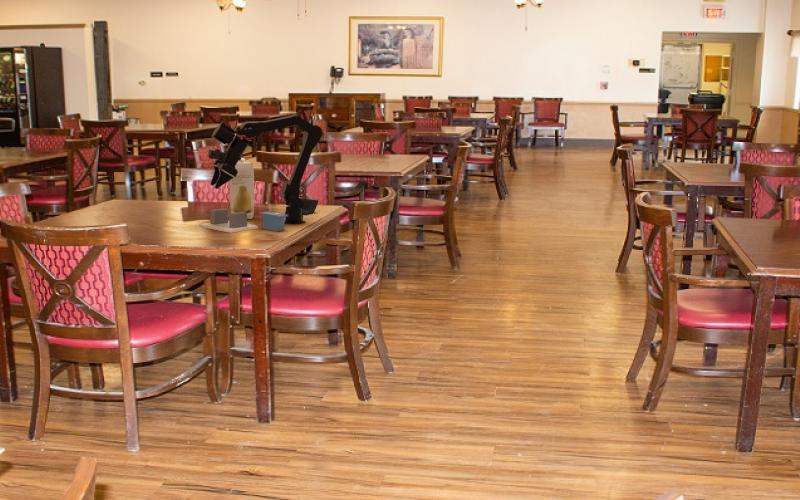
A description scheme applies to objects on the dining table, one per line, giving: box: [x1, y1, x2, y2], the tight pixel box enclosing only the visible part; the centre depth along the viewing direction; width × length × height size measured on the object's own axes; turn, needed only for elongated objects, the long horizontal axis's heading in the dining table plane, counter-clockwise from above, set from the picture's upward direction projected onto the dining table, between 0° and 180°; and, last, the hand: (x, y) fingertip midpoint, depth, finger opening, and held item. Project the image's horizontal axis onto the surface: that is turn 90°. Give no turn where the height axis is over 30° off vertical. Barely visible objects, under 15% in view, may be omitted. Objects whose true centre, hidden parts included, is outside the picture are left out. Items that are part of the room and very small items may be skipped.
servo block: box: [259, 211, 288, 232], centre depth 329 cm, size 4×11×6 cm, turn 49°
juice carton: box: [229, 157, 255, 220], centre depth 351 cm, size 9×8×24 cm
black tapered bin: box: [299, 197, 319, 216], centre depth 369 cm, size 12×7×10 cm
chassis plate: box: [199, 207, 259, 234], centre depth 330 cm, size 13×18×6 cm
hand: (213, 186), depth 331 cm, fingers open, 9 cm apart
